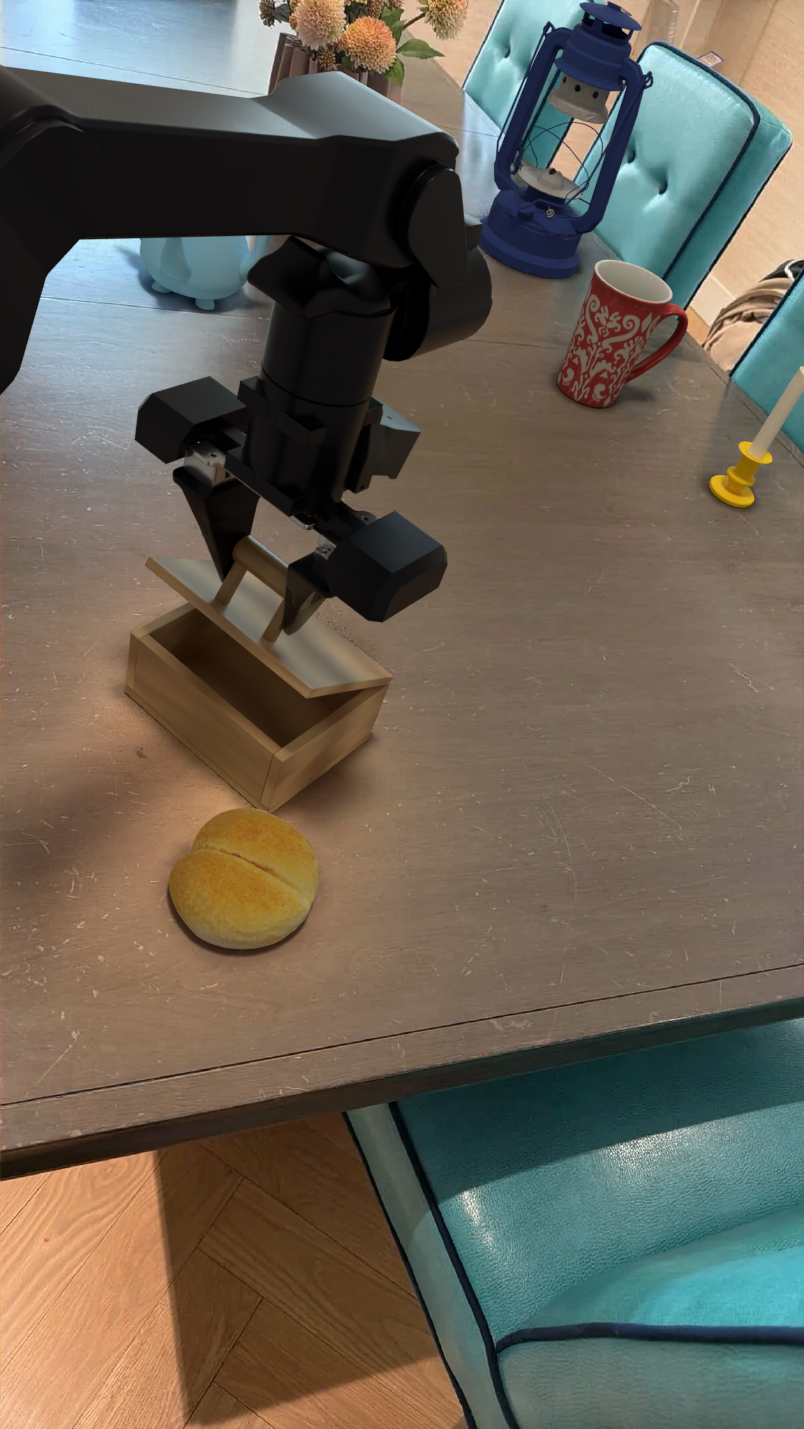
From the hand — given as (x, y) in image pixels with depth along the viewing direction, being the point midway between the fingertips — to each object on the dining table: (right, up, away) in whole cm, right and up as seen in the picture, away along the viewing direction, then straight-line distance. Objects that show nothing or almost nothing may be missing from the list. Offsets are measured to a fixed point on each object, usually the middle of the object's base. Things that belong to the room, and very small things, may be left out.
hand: (260, 606), depth 60 cm
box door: (0, -1, +3) cm, 3 cm away
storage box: (-2, -7, +9) cm, 12 cm away
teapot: (-14, +39, +47) cm, 63 cm away
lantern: (+26, +58, +80) cm, 102 cm away
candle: (+45, +18, +49) cm, 69 cm away
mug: (+32, +31, +56) cm, 72 cm away
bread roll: (-1, -17, 0) cm, 17 cm away
